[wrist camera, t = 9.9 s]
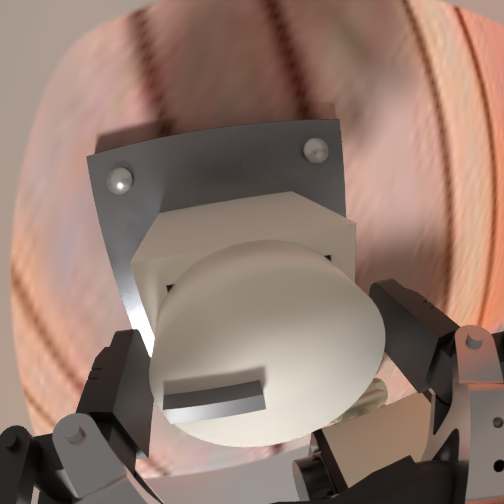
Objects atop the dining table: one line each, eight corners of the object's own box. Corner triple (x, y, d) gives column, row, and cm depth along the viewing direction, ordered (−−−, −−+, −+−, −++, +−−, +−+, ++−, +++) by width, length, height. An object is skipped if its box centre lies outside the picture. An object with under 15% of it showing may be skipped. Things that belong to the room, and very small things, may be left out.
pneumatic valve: (271, 384, 19) (325, 538, 8) (407, 345, 20) (494, 443, 9) (273, 426, 21) (314, 549, 10) (393, 389, 22) (459, 479, 11)
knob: (291, 191, 13) (410, 253, 5) (299, 304, 16) (374, 424, 8) (158, 213, 13) (103, 313, 5) (187, 326, 15) (189, 470, 7)
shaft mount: (330, 120, 13) (403, 111, 8) (336, 331, 18) (380, 393, 12) (93, 155, 12) (30, 163, 6) (155, 367, 17) (147, 443, 11)
